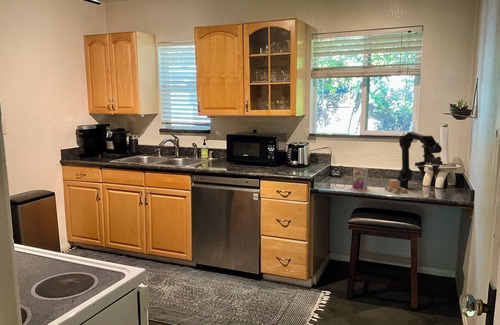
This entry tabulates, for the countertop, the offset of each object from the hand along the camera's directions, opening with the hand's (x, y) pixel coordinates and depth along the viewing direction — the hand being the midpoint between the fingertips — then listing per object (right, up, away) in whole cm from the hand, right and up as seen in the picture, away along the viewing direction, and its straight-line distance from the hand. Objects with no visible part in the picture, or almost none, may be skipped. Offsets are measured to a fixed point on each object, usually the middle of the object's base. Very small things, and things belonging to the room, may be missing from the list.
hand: (429, 175), depth 281 cm
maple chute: (-18, -13, +15) cm, 27 cm away
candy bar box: (-40, -11, +31) cm, 52 cm away
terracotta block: (-19, -12, +18) cm, 29 cm away
